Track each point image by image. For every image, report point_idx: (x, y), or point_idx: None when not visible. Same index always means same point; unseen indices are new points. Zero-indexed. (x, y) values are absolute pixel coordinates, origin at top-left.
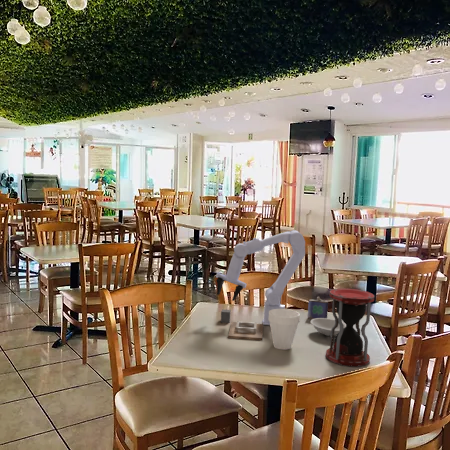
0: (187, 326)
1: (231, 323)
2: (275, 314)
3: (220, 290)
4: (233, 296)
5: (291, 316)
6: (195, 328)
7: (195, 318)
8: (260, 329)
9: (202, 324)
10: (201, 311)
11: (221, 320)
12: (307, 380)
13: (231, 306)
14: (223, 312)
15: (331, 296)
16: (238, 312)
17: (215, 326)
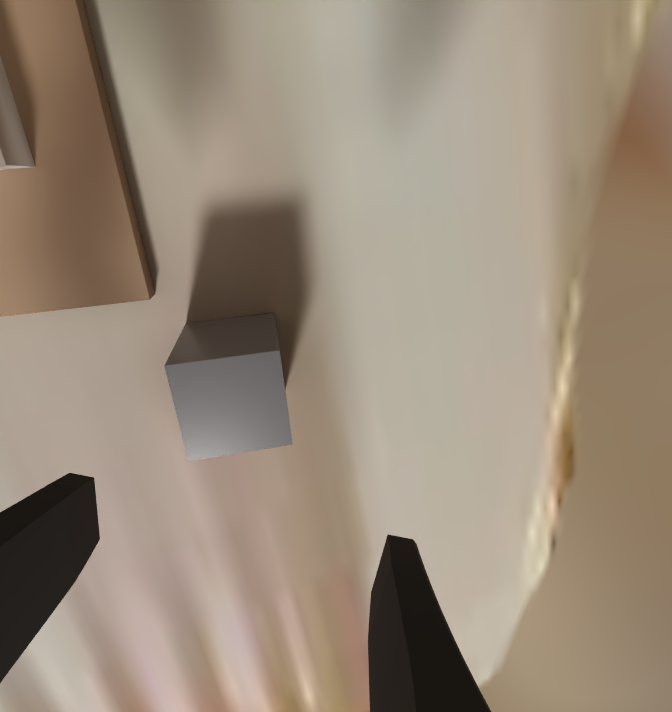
0: (572, 69)
1: (132, 242)
2: None
3: (374, 668)
4: (19, 529)
5: None
6: (489, 15)
7: (512, 347)
8: None
9: (434, 188)
10: (480, 527)
11: (268, 319)
12: None
13: (286, 701)
14: (249, 350)
15: None
16: (197, 613)
17: (296, 160)
